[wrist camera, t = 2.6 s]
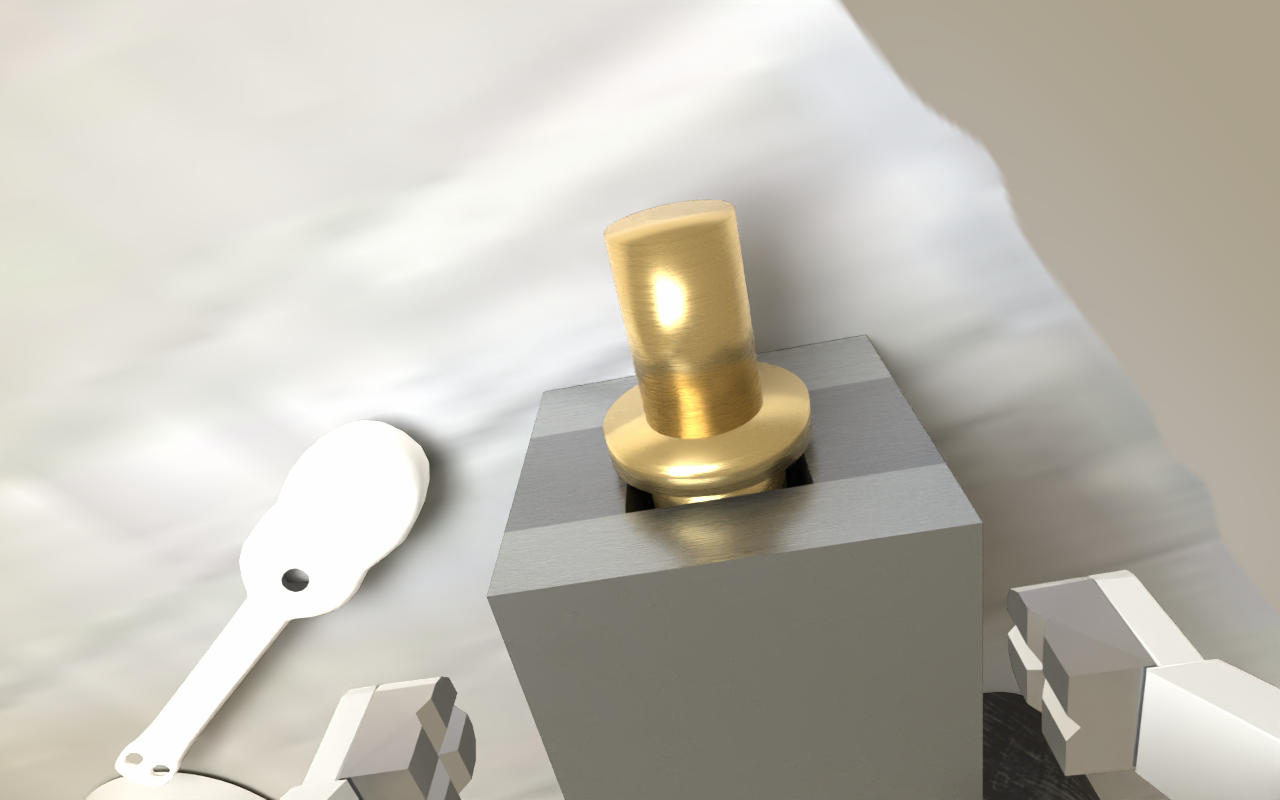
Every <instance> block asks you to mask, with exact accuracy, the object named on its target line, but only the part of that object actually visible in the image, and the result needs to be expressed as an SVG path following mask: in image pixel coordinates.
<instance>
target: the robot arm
mask: <svg viewBox="0 0 1280 800" xmlns="http://www.w3.org/2000/svg"><path fill="white" fill-rule="evenodd" d="M1007 610H1008V612H1009V614H1010V616H1011V617H1012V619H1013V621H1014V623H1015V626H1014V627H1013V628H1012V629H1011V631H1010V632H1009V633H1008V649H1009V656H1010V660H1011V665H1012V669H1013V673H1014V675H1015V678H1016V681H1017V683H1018V686H1019V688H1020V690H1021V692H1022V694H1023V696H1024V698H1025V700H1026V702H1027V704H1029V705H1030V706H1032V707H1034V708H1035V709H1037V710H1038V711H1040V712H1041V713H1042V733H1043V735H1044V737H1045V739H1046V741H1047V743H1048V744H1049V746H1050V748H1051V750H1052V752H1053V754H1054V756H1055V758H1056V760H1057V761H1058V763H1059V765H1060V767H1061V769H1062V771H1063V773H1064V775H1065V776H1070V775H1081V774H1091V773H1101V772H1112V771H1122V770H1132V769H1136V773H1137V774H1138V775H1139V776H1141V777H1142V778H1143V779H1145V780H1146V781H1147V782H1148V783H1150V784H1151V785H1152V786H1154V787H1155V788H1156V789H1158V790H1159V791H1160V792H1162V793H1163V794H1164V795H1166V796H1167V797H1168V798H1169V799H1171V800H1280V689H1279V688H1277V687H1275V686H1273V685H1271V684H1269V683H1267V682H1265V681H1263V680H1261V679H1259V678H1257V677H1255V676H1252V675H1250V674H1248V673H1246V672H1244V671H1242V670H1240V669H1238V668H1236V667H1234V666H1232V665H1230V664H1228V663H1226V662H1224V661H1222V660H1220V659H1211V660H1205V659H1204V658H1203V657H1202V655H1201V654H1200V653H1199V652H1198V651H1197V649H1196V648H1195V647H1194V646H1193V645H1192V643H1191V642H1190V641H1189V640H1188V638H1187V637H1186V636H1185V635H1184V634H1183V632H1182V631H1181V630H1180V629H1179V628H1178V626H1177V625H1176V624H1175V623H1174V622H1173V620H1172V619H1171V618H1170V617H1169V616H1168V614H1167V613H1166V612H1165V611H1164V610H1163V608H1162V607H1161V606H1160V605H1159V604H1158V602H1157V601H1156V600H1155V599H1154V597H1153V596H1152V595H1151V594H1150V593H1149V591H1148V590H1147V589H1146V588H1145V587H1144V585H1143V584H1142V583H1141V582H1140V581H1139V579H1138V578H1137V577H1136V576H1135V575H1134V574H1133V573H1131V572H1129V571H1128V570H1120V571H1114V572H1108V573H1102V574H1096V575H1090V576H1086V577H1078V578H1072V579H1065V580H1059V581H1053V582H1047V583H1041V584H1035V585H1029V586H1023V587H1017V588H1010V591H1009V593H1008V601H1007ZM456 695H457V692H456V690H455V688H454V686H453V684H452V682H451V681H450V679H449V678H447V677H434V678H426V679H418V680H411V681H403V682H395V683H387V684H381V685H377V686H369V687H361V688H352V689H350V690H349V691H348V692H347V693H346V694H344V695H343V697H342V698H341V700H340V703H339V705H338V707H337V709H336V711H335V714H334V716H333V718H332V720H331V722H330V725H329V727H328V729H327V731H326V734H325V736H324V738H323V740H322V742H321V745H320V747H319V749H318V751H317V754H316V756H315V758H314V760H313V762H312V765H311V767H310V769H309V771H308V774H307V776H306V778H305V780H304V782H303V785H302V786H296V787H292V788H291V789H290V790H289V791H288V792H287V793H286V794H285V795H284V796H283V797H281V798H280V799H279V800H461V799H460V797H459V795H458V794H459V793H460V792H461V791H462V790H463V788H464V787H465V786H466V785H467V784H468V783H469V781H470V780H471V779H472V775H473V770H474V766H475V761H476V739H475V735H474V730H473V726H472V723H471V721H470V719H469V717H468V715H467V713H465V712H464V711H462V710H461V709H459V708H457V707H456V706H454V702H455V699H456ZM155 773H156V774H157V775H164V776H165V775H166V774H168V773H169V772H155ZM86 800H266V799H264V798H262V797H260V796H258V795H256V794H254V793H252V792H250V791H248V790H245V789H243V788H241V787H238V786H235V785H233V784H230V783H227V782H224V781H220V780H217V779H213V778H209V777H204V776H199V775H193V774H186V773H176V774H175V776H174V777H173V778H172V779H171V780H170V781H169V782H168V783H167V784H166V785H164V786H163V787H161V788H152V787H146V786H143V785H140V784H137V783H134V782H132V781H131V780H129V779H127V778H125V777H121V778H117V779H115V780H112V781H110V782H107V783H105V784H103V785H102V786H100V787H99V788H97V789H96V790H94V791H93V792H92V793H91V794H90V795H89V796H88V797H87V798H86Z"/></svg>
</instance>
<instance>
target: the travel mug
mask: <svg viewBox="0 0 1280 800" xmlns="http://www.w3.org/2000/svg"><path fill="white" fill-rule="evenodd" d="M983 800H1100V799H1099V797H1098V795H1097V794H1096V792H1095V790H1094V789H1093V787H1092V785H1091V784H1090V782H1089V780H1088V779H1087V777H1086V775H1085V774H1081V775H1070V776H1065V775H1064V773H1063V771H1062V769H1061V767H1060V765H1059V763H1058V761H1057V760H1056V758H1055V756H1054V754H1053V752H1052V750H1051V748H1050V746H1049V744H1048V743H1047V741H1046V739H1045V737H1044V735H1043V733H1042V713H1041V712H1040V711H1038V710H1037V709H1035V708H1034V707H1032V706H1030V705H1029V704H1027V702H1026V700H1025V698H1024V696H1021V695H1017V694H1011V693H987V694H983Z"/></svg>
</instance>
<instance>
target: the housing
mask: <svg viewBox="0 0 1280 800" xmlns="http://www.w3.org/2000/svg"><path fill="white" fill-rule="evenodd" d="M756 355H757V361H758V362H763V363H768V364H772V365H775V366H778V367H781V368H784V369H786V370H788V371H790V372H792V373H793V374H795V375H796V376H797V377H799V378H800V379H801V380H802V381H803V383H804V384H805V386H806V387H807V389H808V393H809V400H810V408H811V417H812V425H813V432H812V437H811V441H810V443H809V445H808V447H807V449H806V450H805V451H804V453H803V454H802V455H801V456H800V457H799V458H798V459H797V460H796V461H795V462H794V463H793V464H792V465H791V466H789V467H788V468H786V469H785V472H786V479H787V486H788V488H784V489H778V490H772V491H765V492H759V493H753V494H746V495H740V496H734V497H727V498H721V499H715V500H708V501H702V502H696V503H689V504H683V505H677V506H670V507H664V508H658V509H655V505H654V501H653V497H652V493H648V492H646V491H643V490H640V489H637V488H636V487H634V486H632V485H630V484H628V483H627V482H625V481H624V480H623V479H622V478H621V477H620V476H619V475H618V474H617V473H616V471H615V469H614V468H613V465H612V462H611V458H610V454H609V450H608V446H607V443H606V439H605V435H604V431H603V424H604V420H605V417H606V414H607V412H608V411H609V409H610V408H611V406H612V405H613V404H614V403H615V402H616V401H617V400H618V399H619V398H620V397H621V396H622V395H623V394H625V393H626V392H627V391H629V390H630V389H632V388H633V387H635V386H636V385H638V381H637V377H636V376H631V377H625V378H620V379H614V380H609V381H603V382H597V383H592V384H586V385H580V386H575V387H569V388H563V389H558V390H552V391H547V392H543V396H542V399H541V403H540V407H539V410H538V414H537V417H536V421H535V425H534V428H533V432H532V435H531V439H530V443H529V446H528V450H527V453H526V457H525V461H524V464H523V468H522V471H521V475H520V479H519V482H518V486H517V489H516V493H515V497H514V500H513V504H512V507H511V511H510V515H509V518H508V522H507V525H506V529H505V533H504V536H503V540H502V543H501V547H500V551H499V554H498V558H497V561H496V565H495V569H494V572H493V576H492V579H491V583H490V587H489V590H488V594H487V599H488V601H489V604H490V606H491V609H492V612H493V614H494V617H495V619H496V622H497V625H498V627H499V630H500V632H501V635H502V638H503V640H504V643H505V645H506V648H507V650H508V653H509V656H510V658H511V661H512V663H513V666H514V669H515V671H516V674H517V676H518V679H519V682H520V684H521V687H522V689H523V692H524V695H525V697H526V700H527V702H528V705H529V707H530V710H531V713H532V715H533V718H534V720H535V723H536V726H537V728H538V731H539V733H540V736H541V739H542V741H543V744H544V746H545V749H546V751H547V754H548V757H549V759H550V762H551V764H552V767H553V770H554V772H555V775H556V777H557V780H558V783H559V785H560V788H561V790H562V793H563V796H564V798H565V800H983V522H982V521H981V519H980V517H979V516H978V514H977V513H976V511H975V509H974V508H973V506H972V505H971V503H970V501H969V500H968V498H967V496H966V495H965V493H964V492H963V490H962V488H961V487H960V485H959V484H958V482H957V480H956V479H955V477H954V476H953V474H952V472H951V471H950V469H949V467H948V466H947V464H946V463H945V461H944V459H943V458H942V456H941V455H940V453H939V451H938V450H937V448H936V447H935V445H934V443H933V442H932V440H931V439H930V437H929V435H928V434H927V432H926V430H925V429H924V427H923V426H922V424H921V422H920V421H919V419H918V418H917V416H916V414H915V413H914V411H913V410H912V408H911V406H910V405H909V403H908V402H907V400H906V398H905V397H904V395H903V393H902V392H901V390H900V389H899V387H898V385H897V384H896V382H895V381H894V379H893V377H892V376H891V374H890V373H889V371H888V369H887V368H886V366H885V364H884V363H883V361H882V360H881V358H880V356H879V355H878V353H877V352H876V350H875V348H874V347H873V345H872V344H871V342H870V340H869V339H868V337H867V336H866V335H862V336H856V337H851V338H845V339H839V340H834V341H828V342H823V343H817V344H811V345H806V346H800V347H794V348H789V349H783V350H777V351H772V352H766V353H761V354H756Z"/></svg>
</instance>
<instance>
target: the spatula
mask: <svg viewBox="0 0 1280 800" xmlns="http://www.w3.org/2000/svg"><path fill="white" fill-rule="evenodd" d="M429 480H430V478H429V461H428V459H427V457H426V455H425V453H424V451H423V449H422V447H421V446H420V445H419V444H418V443H417V442H416V441H414V440H413V439H412V438H411V437H410V436H408V435H407V434H406V433H405V432H404V431H401V430H399V429H397V428H395V427H393V426H391V425H389V424H386V423H384V422H381V421H368V420H361V421H357V422H353V423H349V424H346V425H344V426H342V427H340V428H338V429H336V430H334V431H332V432H330V433H329V434H327V435H325V436H323V437H321V438H320V439H319V440H318V441H317V442H316V443H315V444H314V445H313V446H311V447H310V448H309V449H308V450H307V451H306V452H305V453H304V454H303V455H302V456H301V458H300V459H299V460H298V462H297V463H296V464H295V466H294V467H293V468H292V470H291V471H290V473H289V475H288V477H287V480H286V482H285V484H284V486H283V488H282V490H281V493H280V495H279V498H278V500H277V503H276V505H274V506H273V507H272V508H271V509H269V510H268V511H267V512H266V514H265V515H264V516H263V518H262V519H261V520H260V522H259V523H258V524H257V526H256V527H255V528H254V530H253V531H252V533H251V534H250V536H249V537H248V539H247V540H246V542H245V543H244V545H243V549H242V553H241V556H240V560H239V562H240V568H241V573H242V579H243V581H244V584H245V587H246V590H247V596H248V598H247V599H246V600H245V602H244V603H243V604H242V606H241V607H240V608H239V610H238V611H237V612H236V614H235V615H234V616H233V618H232V619H231V620H230V622H229V623H228V624H227V626H226V627H225V628H224V630H223V631H222V632H221V634H220V635H219V636H218V638H217V639H216V640H215V642H214V643H213V644H212V646H211V647H210V648H209V650H208V651H207V652H206V653H205V655H204V656H203V657H202V659H201V660H200V661H199V663H198V664H197V665H196V667H195V668H194V669H193V671H192V672H191V673H190V675H189V676H188V677H187V679H186V680H185V681H184V682H183V684H182V685H181V686H180V688H179V689H178V690H177V691H176V693H175V694H174V695H173V697H172V698H171V699H170V700H169V702H168V703H167V704H166V706H165V707H164V708H163V709H162V711H161V712H160V713H159V715H158V716H157V717H156V718H155V720H154V721H153V722H152V724H151V725H150V726H149V727H148V728H147V729H146V730H145V731H144V732H143V733H142V734H141V735H140V736H139V737H138V738H137V739H136V740H135V741H134V742H132V743H130V744H129V745H128V746H127V747H126V748H125V749H124V750H123V751H122V753H121V754H120V756H119V757H118V759H117V761H116V764H115V768H116V770H117V771H118V772H119V773H120V774H121V775H122V776H124V777H125V778H127V779H129V780H131V781H132V782H134V783H137V784H140V785H143V786H146V787H152V788H161V787H163V786H164V785H166V784H167V783H168V782H169V781H170V780H171V779H172V778H173V777H174V776H175V774H176V773H177V771H178V770H179V768H180V766H181V761H182V760H183V758H184V757H185V755H186V753H187V752H188V750H189V748H190V747H191V745H192V744H193V742H194V741H195V740H196V739H197V737H198V736H199V735H200V733H201V732H202V731H203V730H204V728H205V727H206V726H207V725H208V723H209V722H210V721H211V719H212V718H213V717H214V716H215V714H216V713H217V712H218V710H219V709H220V708H221V707H222V705H223V704H224V703H225V701H226V700H227V699H228V698H229V696H230V695H231V694H232V693H233V691H234V690H235V689H236V688H237V686H238V685H239V684H240V683H241V681H242V680H243V679H244V678H245V677H246V675H247V674H248V673H249V672H250V670H251V669H252V668H253V667H254V665H255V664H256V663H257V662H258V660H259V659H260V658H261V657H262V655H263V654H264V653H265V652H266V650H267V649H268V648H269V647H270V645H271V644H272V643H273V642H274V640H275V639H276V638H277V637H278V635H279V634H280V633H281V632H282V630H283V629H284V628H285V627H286V625H287V624H288V623H289V621H290V620H293V619H296V618H305V617H314V616H318V615H321V614H325V613H329V612H333V611H334V610H336V609H337V608H339V607H340V606H342V605H343V604H345V603H346V602H348V601H349V600H350V599H351V598H352V596H353V595H354V594H355V593H356V592H357V591H358V590H359V588H360V586H361V584H362V582H363V580H364V578H365V576H366V574H367V572H368V570H369V569H370V568H371V567H372V566H373V565H375V564H376V563H377V562H379V561H380V560H382V559H383V558H384V557H386V556H387V555H388V554H389V553H391V552H392V551H393V550H394V549H395V548H396V547H398V546H399V545H400V544H401V543H402V542H404V541H405V540H406V538H407V536H408V534H409V533H410V531H411V529H412V527H413V525H414V523H415V521H416V520H417V517H418V515H419V513H420V511H421V509H422V506H423V504H424V502H425V499H426V494H427V490H428V485H429ZM131 752H133V753H139V754H140V755H141V756H142V757H143V758H144V759H143V761H142V762H141V763H139V764H135V763H131V762H130V761H129V760H128V759H127V755H129V754H130V753H131ZM158 764H159V765H166V766H167V767H168V768H169V769H170V772H169V773H168V774H166V775H165V776H164V775H157V774H156V773H155V772H154V771H153V768H154V767H155V766H157V765H158Z"/></svg>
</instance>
